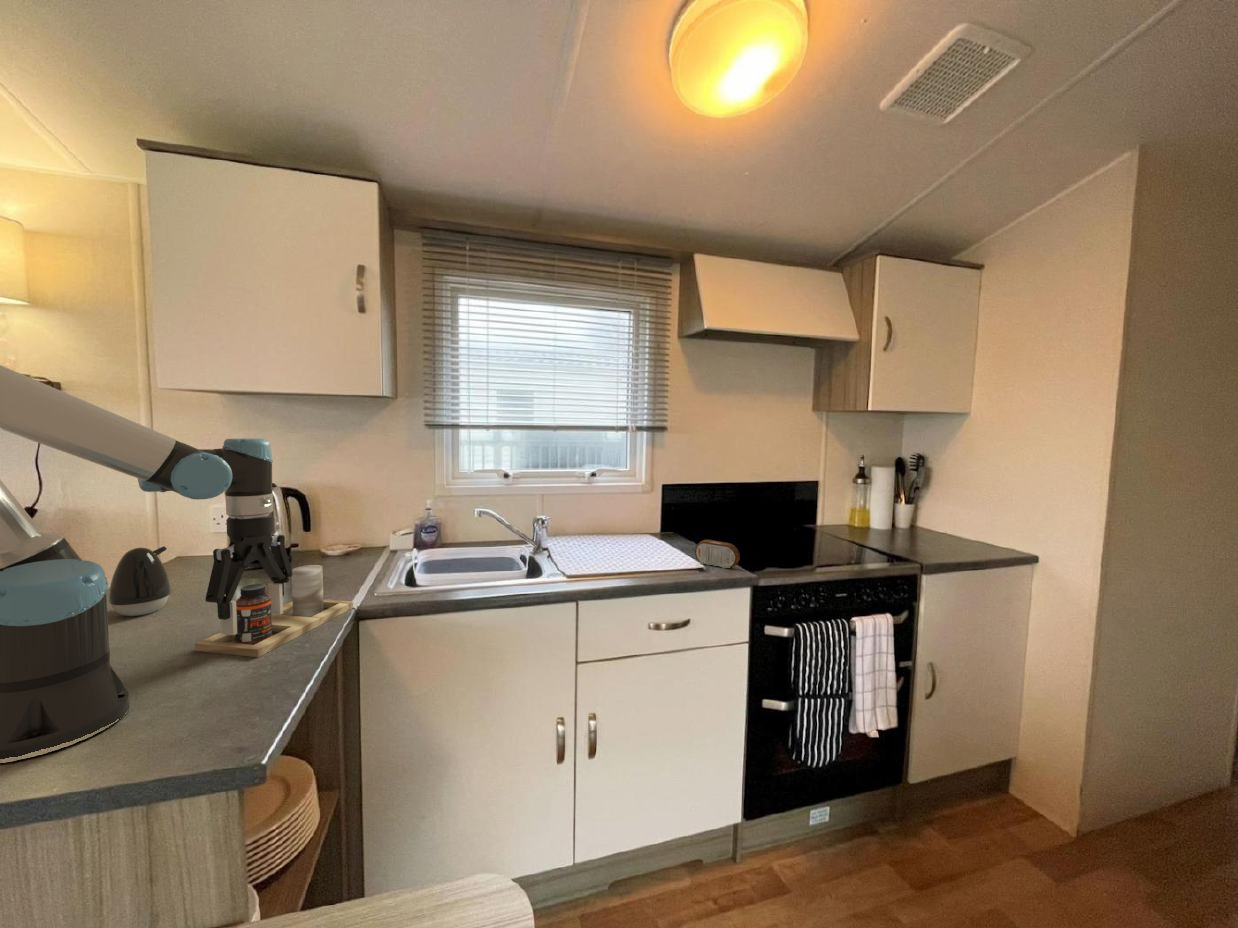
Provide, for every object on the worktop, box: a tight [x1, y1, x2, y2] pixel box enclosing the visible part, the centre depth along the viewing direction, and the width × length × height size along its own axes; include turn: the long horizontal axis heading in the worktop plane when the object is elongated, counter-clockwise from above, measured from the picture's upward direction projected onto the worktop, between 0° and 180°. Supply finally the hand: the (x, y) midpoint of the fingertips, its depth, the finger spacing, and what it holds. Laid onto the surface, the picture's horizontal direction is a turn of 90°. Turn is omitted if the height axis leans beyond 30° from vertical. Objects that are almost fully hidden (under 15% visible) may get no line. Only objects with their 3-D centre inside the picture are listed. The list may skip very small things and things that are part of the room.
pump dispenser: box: [108, 546, 172, 617], centre depth 111 cm, size 10×10×15 cm
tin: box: [694, 539, 741, 568], centre depth 160 cm, size 15×3×8 cm, turn 58°
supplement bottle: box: [234, 583, 273, 645], centre depth 97 cm, size 6×6×11 cm
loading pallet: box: [194, 564, 354, 658], centre depth 104 cm, size 26×14×11 cm, turn 172°
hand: (253, 622), depth 98 cm, fingers open, 10 cm apart
